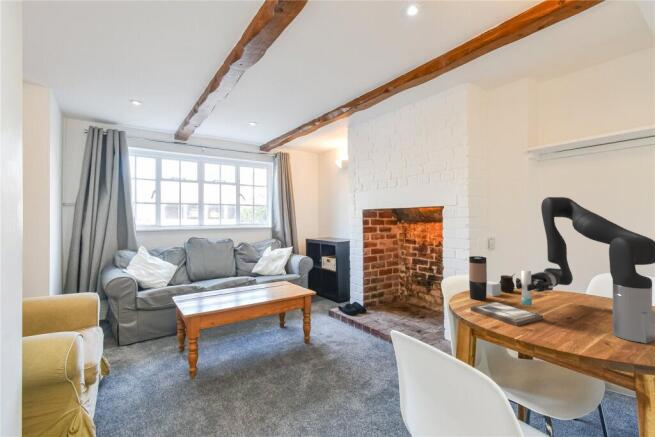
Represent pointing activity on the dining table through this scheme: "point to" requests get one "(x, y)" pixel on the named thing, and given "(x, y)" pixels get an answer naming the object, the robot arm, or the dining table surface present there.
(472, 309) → the board
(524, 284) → the cylinder
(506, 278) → the mate gourd
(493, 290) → the white cube
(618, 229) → the robot arm
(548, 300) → the dining table surface
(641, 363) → the dining table surface
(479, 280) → the travel mug
